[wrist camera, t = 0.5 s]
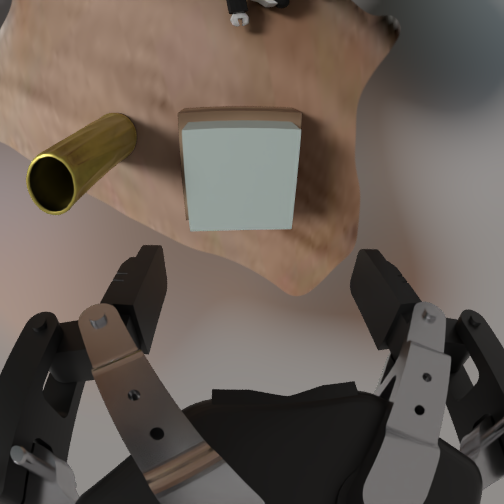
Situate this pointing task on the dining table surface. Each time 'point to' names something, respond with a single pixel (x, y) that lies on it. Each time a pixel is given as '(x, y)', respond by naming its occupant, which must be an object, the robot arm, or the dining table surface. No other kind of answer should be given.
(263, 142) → the top brick
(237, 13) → the robot toy
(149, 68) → the dining table surface
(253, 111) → the bottom brick
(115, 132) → the vase
